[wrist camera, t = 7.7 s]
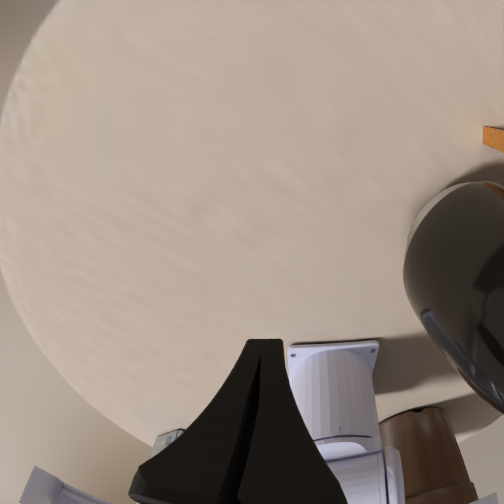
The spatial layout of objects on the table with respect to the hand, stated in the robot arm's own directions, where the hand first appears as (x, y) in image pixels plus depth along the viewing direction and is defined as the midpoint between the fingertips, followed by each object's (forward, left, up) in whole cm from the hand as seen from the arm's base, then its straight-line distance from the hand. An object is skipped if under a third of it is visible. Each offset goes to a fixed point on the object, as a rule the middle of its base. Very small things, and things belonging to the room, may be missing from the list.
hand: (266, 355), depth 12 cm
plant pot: (-30, -16, -10) cm, 35 cm away
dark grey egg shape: (0, -12, -10) cm, 16 cm away
